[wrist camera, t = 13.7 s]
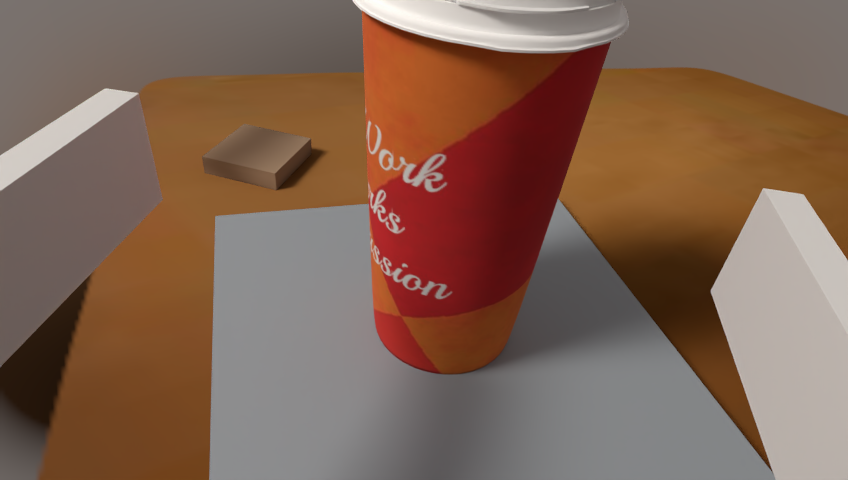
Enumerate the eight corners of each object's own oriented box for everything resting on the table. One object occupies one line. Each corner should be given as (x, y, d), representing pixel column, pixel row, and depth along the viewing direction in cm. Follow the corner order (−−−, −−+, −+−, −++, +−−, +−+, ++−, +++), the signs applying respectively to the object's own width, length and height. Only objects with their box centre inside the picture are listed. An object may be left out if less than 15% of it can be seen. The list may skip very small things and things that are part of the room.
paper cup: (344, 263, 26) (345, -87, 18) (508, 260, 28) (582, -70, 19) (351, 408, 20) (357, -19, 12) (562, 395, 21) (704, -1, 13)
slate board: (546, 204, 34) (550, 189, 33) (765, 496, 20) (779, 480, 19) (218, 232, 29) (215, 216, 28) (211, 636, 15) (206, 621, 15)
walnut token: (311, 160, 36) (310, 138, 35) (277, 196, 33) (275, 173, 32) (246, 145, 37) (244, 123, 36) (206, 179, 34) (201, 156, 33)
